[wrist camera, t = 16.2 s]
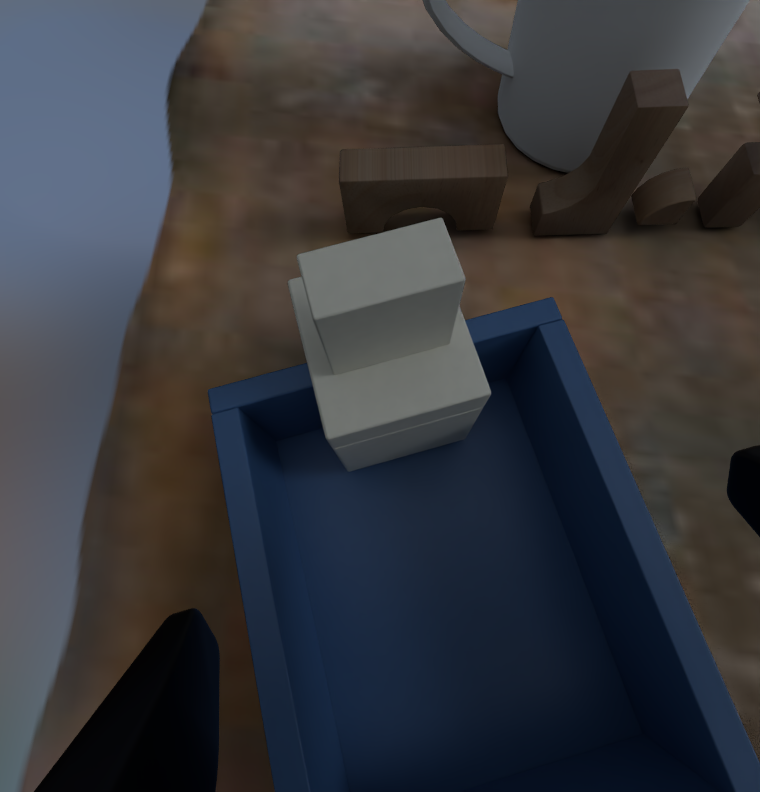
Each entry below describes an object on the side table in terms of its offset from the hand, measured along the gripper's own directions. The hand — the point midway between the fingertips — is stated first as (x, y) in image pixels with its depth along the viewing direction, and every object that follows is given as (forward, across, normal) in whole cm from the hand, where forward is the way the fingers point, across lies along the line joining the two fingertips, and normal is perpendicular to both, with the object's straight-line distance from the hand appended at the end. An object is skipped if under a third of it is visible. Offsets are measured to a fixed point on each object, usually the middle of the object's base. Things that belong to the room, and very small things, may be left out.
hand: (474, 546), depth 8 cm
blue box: (+6, 0, +7) cm, 10 cm away
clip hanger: (+10, 0, +2) cm, 10 cm away
